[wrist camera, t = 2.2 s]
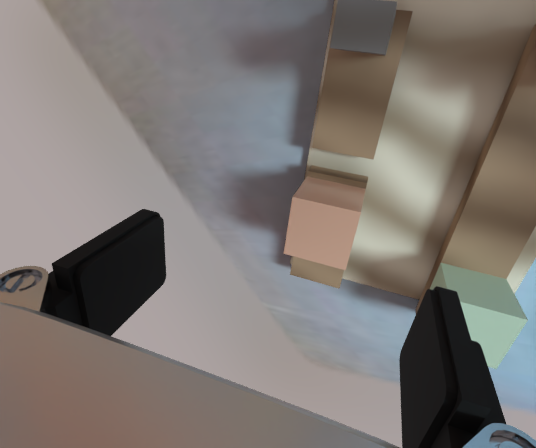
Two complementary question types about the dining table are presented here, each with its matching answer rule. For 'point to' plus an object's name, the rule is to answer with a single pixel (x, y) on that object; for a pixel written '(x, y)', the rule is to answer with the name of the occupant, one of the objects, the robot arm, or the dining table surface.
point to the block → (324, 222)
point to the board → (431, 137)
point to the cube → (485, 309)
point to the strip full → (499, 186)
